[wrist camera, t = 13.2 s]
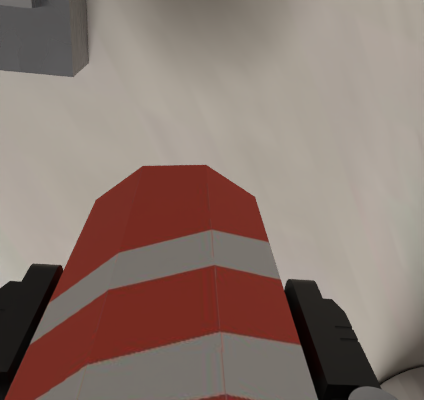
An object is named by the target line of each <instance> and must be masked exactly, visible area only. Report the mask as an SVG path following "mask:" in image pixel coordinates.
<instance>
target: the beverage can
mask: <svg viewBox="0 0 424 400" xmlns="http://www.w3.org/2000/svg"><path fill="white" fill-rule="evenodd" d="M4 400H318V398H317V395H316V392H315V389H314V385H313V382H312V379H311V376H310V372H309V369H308V366H307V363H306V360H305V356H304V353H303V350H302V347H301V344H300V340H299V337H298V334H297V331H296V327H295V324H294V321H293V318H292V315H291V311H290V308H289V305H288V302H287V299H286V295H285V292H284V289H283V286H282V282H281V279H280V276H279V273H278V270H277V266H276V263H275V260H274V257H273V254H272V250H271V247H270V244H269V241H268V237H267V234H266V231H265V228H264V225H263V221H262V218H261V215H260V212H259V208H258V205H257V202H256V199H255V197H254V196H253V195H251V194H250V193H248V192H247V191H245V190H244V189H242V188H240V187H239V186H237V185H236V184H234V183H233V182H231V181H230V180H228V179H227V178H225V177H224V176H222V175H221V174H219V173H218V172H216V171H215V170H213V169H212V168H210V167H208V166H207V165H174V166H142V167H141V168H140V169H138V170H137V171H135V172H134V173H133V174H131V175H130V176H129V177H127V178H126V179H124V180H123V181H122V182H120V183H119V184H117V185H116V186H115V187H113V188H112V189H111V190H109V191H108V192H106V193H105V194H104V195H102V196H101V197H100V198H98V199H97V200H96V201H95V203H94V206H93V208H92V210H91V212H90V214H89V217H88V219H87V221H86V223H85V225H84V227H83V230H82V232H81V234H80V236H79V238H78V240H77V243H76V245H75V247H74V249H73V251H72V253H71V256H70V258H69V260H68V262H67V264H66V267H65V269H64V271H63V273H62V275H61V277H60V280H59V282H58V284H57V286H56V288H55V290H54V293H53V295H52V297H51V299H50V301H49V304H48V306H47V308H46V310H45V312H44V314H43V317H42V319H41V321H40V323H39V325H38V327H37V330H36V332H35V334H34V336H33V338H32V340H31V343H30V345H29V347H28V349H27V351H26V354H25V356H24V358H23V360H22V362H21V364H20V367H19V369H18V371H17V373H16V375H15V377H14V380H13V382H12V384H11V386H10V388H9V391H8V393H7V395H6V397H5V399H4Z"/></svg>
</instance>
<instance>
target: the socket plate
mask: <svg viewBox="0 0 424 400" xmlns="http://www.w3.org/2000/svg"><path fill="white" fill-rule="evenodd" d="M87 64H88V35H87V6H86V0H0V70H4V71H15V72H25V73H36V74H47V75H57V76H68V77H74V76H75V75H76V74H77V73H78V72H79V71H80V70H81V69H83V68H84V67H85V66H86V65H87Z"/></svg>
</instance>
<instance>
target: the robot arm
mask: <svg viewBox="0 0 424 400" xmlns="http://www.w3.org/2000/svg"><path fill="white" fill-rule="evenodd" d="M62 273H63V268H62V266H61V265H49V264H32V265H31V266H30V268H29V269H28V271H27V273H26V275H25V276H24V278H23V280H22V282H17V281H9V282H8V283H7V284H5V285H4V286H3V287H1V288H0V400H4V399H5V397H6V395H7V393H8V391H9V388H10V386H11V384H12V382H13V380H14V377H15V375H16V373H17V371H18V369H19V367H20V364H21V362H22V360H23V358H24V356H25V354H26V351H27V349H28V347H29V345H30V343H31V340H32V338H33V336H34V334H35V332H36V330H37V327H38V325H39V323H40V321H41V319H42V317H43V314H44V312H45V310H46V308H47V306H48V304H49V301H50V299H51V297H52V295H53V293H54V290H55V288H56V286H57V284H58V282H59V280H60V277H61V275H62ZM284 292H285V295H286V299H287V302H288V305H289V308H290V311H291V315H292V318H293V321H294V324H295V327H296V331H297V334H298V337H299V340H300V344H301V347H302V350H303V353H304V356H305V360H306V363H307V366H308V369H309V372H310V376H311V379H312V382H313V385H314V389H315V392H316V395H317V398H318V400H424V367H420V368H416V369H412V370H409V371H406V372H404V373H401V374H398V375H396V376H394V377H393V378H391V379H389V380H387V381H385V382H384V383H383V384H381V385H380V384H379V382H378V380H377V378H376V376H375V374H374V372H373V370H372V368H371V366H370V363H369V361H368V359H367V357H366V355H365V353H364V351H363V349H362V347H361V345H360V343H359V342H358V338H357V336H356V334H355V332H354V330H352V326H351V324H350V322H349V320H348V318H347V316H346V313H345V312H344V311H343V310H342V309H341V308H340V307H339V306H338V305H337V304H336V303H335V302H334V301H333V300H332V299H323V298H322V296H321V293H320V291H319V289H318V286H317V284H316V282H315V281H313V280H296V279H288V281H287V282H286V286H285V290H284Z"/></svg>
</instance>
